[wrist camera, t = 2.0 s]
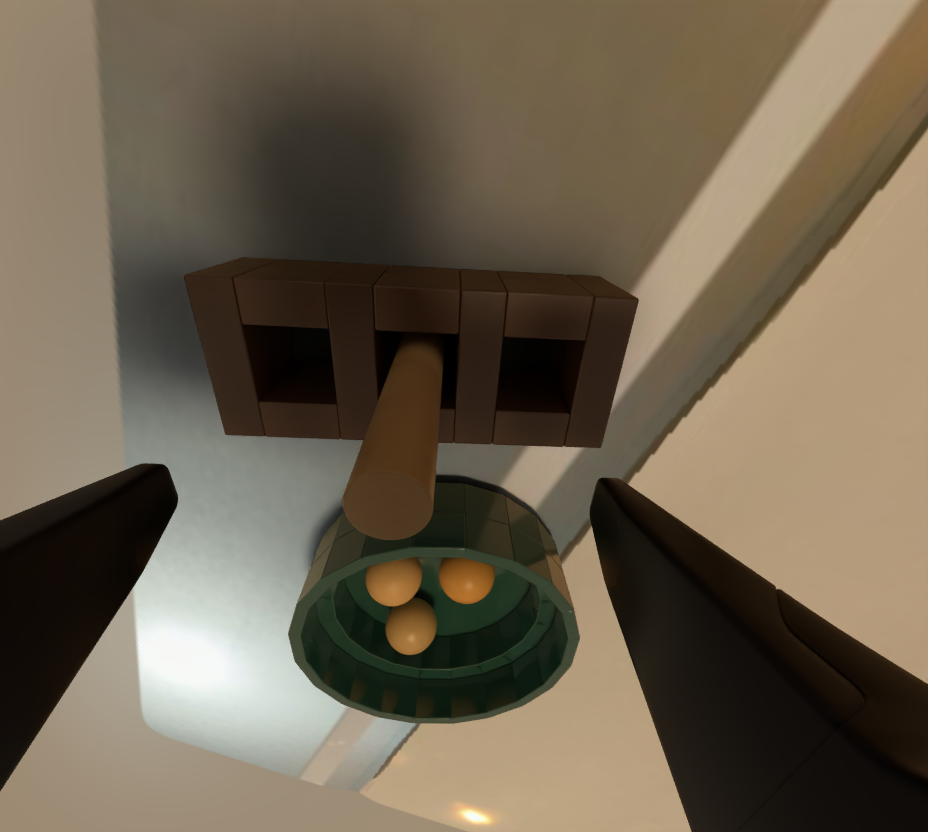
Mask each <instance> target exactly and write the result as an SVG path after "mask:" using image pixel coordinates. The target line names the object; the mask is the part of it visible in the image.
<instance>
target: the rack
mask: <svg viewBox="0 0 928 832" xmlns="http://www.w3.org/2000/svg"><path fill="white" fill-rule="evenodd" d="M184 280H185V284H186V288H187V291H188V295H189V299H190V303H191V307H192V310H193V314H194V318H195V322H196V325H197V329H198V333H199V337H200V341H201V344H202V348H203V352H204V356H205V359H206V363H207V367H208V371H209V375H210V378H211V382H212V386H213V390H214V394H215V397H216V401H217V405H218V409H219V412H220V416H221V420H222V424H223V428H224V431H225V434H226V435H239V436H267V437H291V438H319V439H340V438H341V439H348V440H364V438H365V435H366V433H367V430H368V427H369V425H370V422H371V419H372V416H373V414H374V411H375V408H376V406H377V403H378V400H379V398H380V395H381V392H382V389H383V387H384V384H385V381H386V379H387V376H388V373H389V370H390V368H391V365H392V362H393V355H392V331H398V332H419V333H440V334H457V340H456V362H455V369H447V368H443V376H442V390H441V405H440V419H439V434H438V443H453V442H454V443H471V444H492V443H493V444H496V445H524V446H553V447H563V446H566V447H587V448H601V446H602V442H603V438H604V434H605V430H606V427H607V423H608V419H609V415H610V411H611V407H612V403H613V399H614V395H615V391H616V387H617V384H618V380H619V376H620V372H621V368H622V364H623V360H624V356H625V352H626V348H627V344H628V340H629V337H630V333H631V329H632V325H633V321H634V317H635V313H636V309H637V305H638V301H639V300H638V298H636V297H635V296H633V295H631V294H629V293H628V292H626V291H624V290H622V289H621V288H619V287H617V286H615V285H614V284H612V283H610V282H608V281H607V280H605V279H603V278H601V277H597V276H578V275H567V276H566V275H563V274H544V273H526V272H507V271H497V272H496V271H486V270H467V269H461V270H460V271H459V270H458V269H447V268H429V267H410V266H389V265H376V264H357V263H353V264H351V263H338V262H319V261H301V260H282V259H281V260H278V259H262V258H244V257H243V258H239V259H236V260H233V261H229V262H226V263H223V264H219V265H216V266H213V267H209V268H206V269H203V270H199V271H196V272H193V273H190V274H186V275H184ZM290 327H305V328H326V329H327V328H329V333H330V342H331V351H332V361H333V364H332V363H309V362H295V356H294V349H293V343H292V336H291V330H290ZM503 336H504V337H518V338H539V339H555V343H554V349H553V355H552V361H551V367H550V373H537V372H514V371H500V362H501V353H502V343H503Z"/></svg>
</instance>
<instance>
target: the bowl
mask: <svg viewBox="0 0 928 832" xmlns="http://www.w3.org/2000/svg"><path fill="white" fill-rule="evenodd" d="M411 557H417V558H418V560H419V562H420V565H421V569H422V580H421V584H420V587H419V589H418V591H417V592H416V594H415V595H414V596H413V597H416V598H420V599H422V600H424V601H426V602H427V603H428V604H429V605H430V606H431V607H432V608H433V610H434V612H435V615H436V619H437V630H436V634H435V637H434V639H433V641H432V642H431V644H430V645H429V646H428V647H427V648H426V649H425V650H423V651H422V652H420V653H417V654H413V655H406V654H402V653H400V652H398V651H396V650H395V649H394V648H393V647H392V646H391V645H390V643H389V641H388V639H387V636H386V630H385V625H386V619H387V616H388V614H389V612H390V610H391V609H392V608H393V606H385V605H382V604H380V603H378V602H377V601H375V600H374V599H373V598H372V597H371V595H370V594H369V592H368V590H367V587H366V582H365V574H366V569H367V567H368V566H373V565H377V564H382V563H387V562H392V561H397V560H401V559H406V558H411ZM443 558H465V559H469V560H473V561H477V562H481V563H485V564H488V565H492V566H494V570H495V578H494V583H493V586H492V588H491V590H490V592H489V593H488V594H487V595H486V596H485V597H484V598H483V599H482V600H480V601H478V602H475V603H472V604H462V603H458V602H456V601H454V600H452V599H451V598H450V597H448V596H447V594H446V593H445V592H444V590H443V589H442V587H441V584H440V580H439V567H440V564H441V561H442V559H443ZM288 636H289V640H290V644H291V648H292V652H293V656H294V660H295V662H296V664H297V665H298V666H299V667H300V669H301V670H302V671H303V672H304V674H305V675H306V676H307V677H308V679H309V680H310V681H311V682H312V684H313V685H315V687H317V688H318V689H320V690H321V691H323V692H325V693H326V694H328V695H329V696H331V697H332V698H334V699H335V700H337V701H338V702H340V703H341V704H343V705H346V706H349V707H351V708H354V709H357V710H359V711H362V712H365V713H367V714H370V715H373V716H377V717H380V718H386V719H392V720H398V721H404V722H409V723H453V724H454V723H460V722H466V721H473V720H479V719H485V718H490V717H493V716H496V715H498V714H501V713H504V712H507V711H510V710H513V709H515V708H518V707H521V706H523V705H526V704H527V703H529V702H530V701H532V700H534V699H535V698H537V697H538V696H540V695H541V694H543V693H545V692H546V691H548V690H549V689H551V688H552V687H553V686H554V685H555V684H556V683H557V682H558V681H559V679H560V678H561V677H562V676H563V675H564V674H565V672H566V671H567V670H568V669H569V668H570V667H571V665H572V662H573V659H574V656H575V653H576V649H577V646H578V643H579V640H580V635H579V630H578V626H577V621H576V616H575V611H574V607H573V604H572V600H571V597H570V593H569V590H568V587H567V583H566V580H565V576H564V573H563V569H562V566H561V562H560V559H559V555H558V552H557V548H556V545H555V542H554V540H553V538H552V537H551V536H550V534H549V533H548V532H547V530H546V529H545V528H544V526H543V525H542V524H541V522H540V521H539V520H538V518H537V517H536V516H535V515H534V514H532V513H531V512H529V511H527V510H526V509H524V508H523V507H521V506H520V505H518V504H517V503H515V502H514V501H512V500H511V499H509V498H507V497H506V496H504V495H502V494H499V493H495V492H492V491H489V490H485V489H482V488H478V487H475V486H472V485H468V484H463V483H435V492H434V507H433V514H432V517H431V519H430V521H429V522H428V524H427V525H426V526H425V527H424V528H423V529H422V530H421V531H420V532H418V533H416V534H415V535H413V536H410V537H407V538H404V539H398V540H383V539H378V538H374V537H371V536H368V535H366V534H364V533H362V532H361V531H359V530H358V529H357V528H355V527H354V526H353V525H352V524H351V523H350V521H349V520H348V518H347V517H346V515H345V512H343V513H342V514H341V515H340V517H339V518H338V519H337V520H336V521H335V522H334V523H333V525H332V526H331V527H330V528H329V529H328V530H327V532H326V533H325V534H324V535H323V537H322V540H321V542H320V545H319V547H318V550H317V552H316V555H315V558H314V560H313V563H312V565H311V568H310V571H309V573H308V576H307V578H306V581H305V584H304V586H303V589H302V591H301V594H300V597H299V599H298V602H297V604H296V607H295V611H294V614H293V618H292V621H291V625H290V628H289V632H288Z"/></svg>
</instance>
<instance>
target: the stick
mask: <svg viewBox="0 0 928 832" xmlns="http://www.w3.org/2000/svg"><path fill="white" fill-rule="evenodd" d="M444 347H445V334H440V333H419V332H404V333H403V335H402V338H401V341H400V343H399V346H398V349H397V352H396V354H395V357H394V360H393V362H392V365H391V368H390V370H389V373H388V376H387V379H386V381H385V384H384V387H383V389H382V392H381V395H380V398H379V400H378V403H377V406H376V408H375V411H374V414H373V416H372V419H371V422H370V425H369V427H368V430H367V433H366V435H365V438H364V441H363V443H362V446H361V449H360V452H359V454H358V457H357V460H356V462H355V465H354V468H353V470H352V473H351V476H350V479H349V481H348V484H347V487H346V489H345V492H344V495H343V508H344V512H345V515H346V517H347V518H348V520H349V521H350V523H351V524H352V525H353V526H354V527H355V528H357V529H358V530H359V531H361V532H362V533H364V534H366V535H368V536H371V537H374V538H378V539H383V540H398V539H404V538H407V537H410V536H413V535H415V534H416V533H418V532H420V531H421V530H422V529H423V528H424V527H425V526H426V525H427V524H428V522H429V521H430V519H431V517H432V514H433V507H434V492H435V478H436V463H437V449H438V434H439V419H440V405H441V390H442V376H443V361H444Z"/></svg>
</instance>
